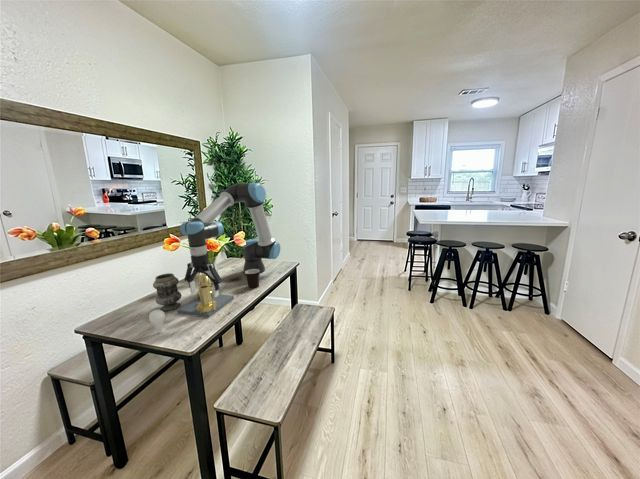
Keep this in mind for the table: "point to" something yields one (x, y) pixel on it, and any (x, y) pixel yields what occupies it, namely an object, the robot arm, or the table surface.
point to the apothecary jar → (167, 292)
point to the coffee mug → (252, 278)
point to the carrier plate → (192, 306)
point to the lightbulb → (157, 320)
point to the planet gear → (205, 300)
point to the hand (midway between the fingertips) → (205, 295)
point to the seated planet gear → (204, 281)
